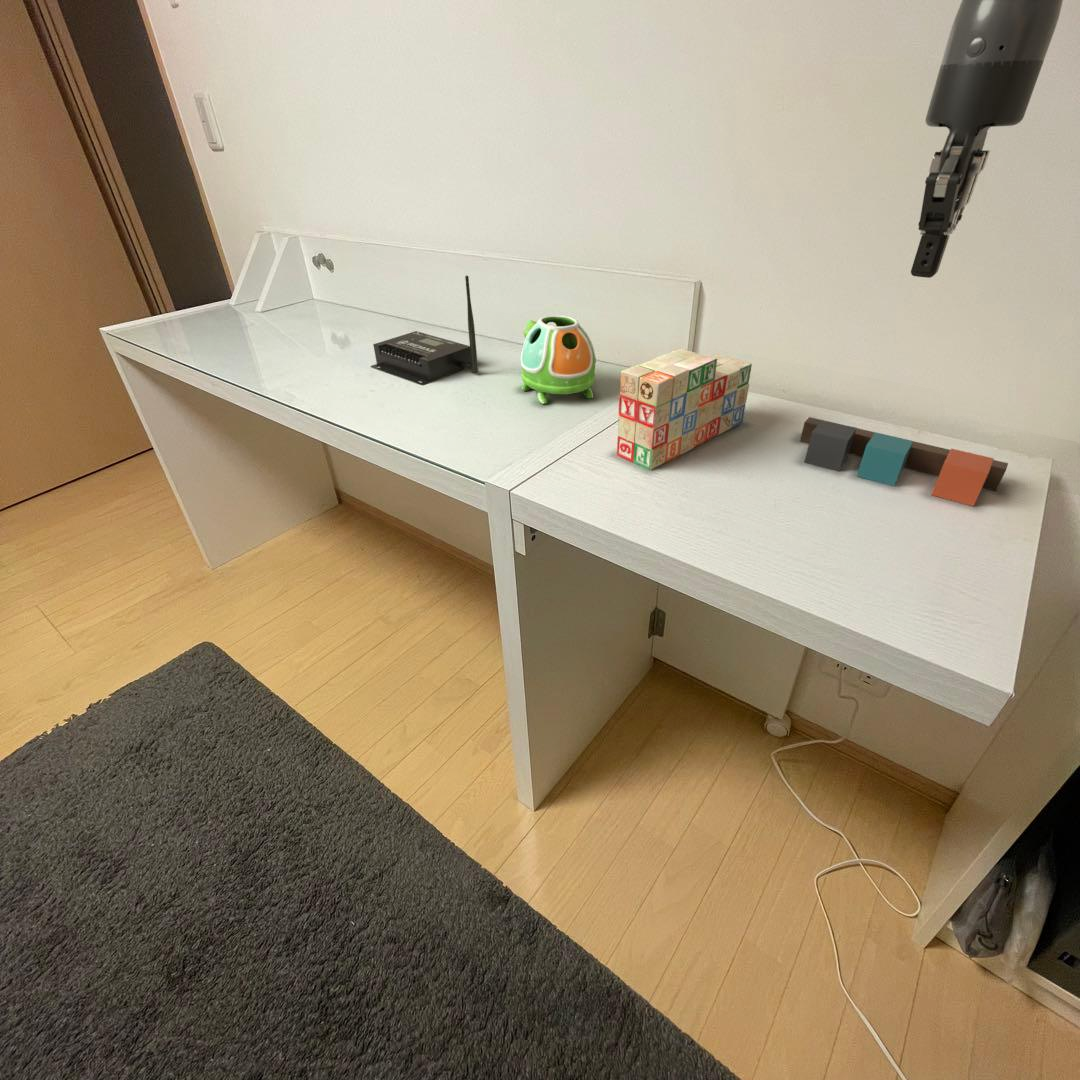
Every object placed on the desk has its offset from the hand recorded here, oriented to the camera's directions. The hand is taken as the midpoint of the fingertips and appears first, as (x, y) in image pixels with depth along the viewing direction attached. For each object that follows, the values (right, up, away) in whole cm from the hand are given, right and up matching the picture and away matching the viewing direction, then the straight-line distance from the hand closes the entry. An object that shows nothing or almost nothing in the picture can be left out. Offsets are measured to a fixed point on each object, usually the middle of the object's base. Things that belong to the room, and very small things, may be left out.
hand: (923, 275), depth 62 cm
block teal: (+5, -18, +17) cm, 26 cm away
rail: (+8, -16, +20) cm, 27 cm away
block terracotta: (+12, -21, +13) cm, 28 cm away
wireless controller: (-60, +6, +54) cm, 81 cm away
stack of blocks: (-18, -12, +27) cm, 35 cm away
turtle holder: (-37, -1, +44) cm, 57 cm away
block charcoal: (0, -16, +20) cm, 26 cm away
